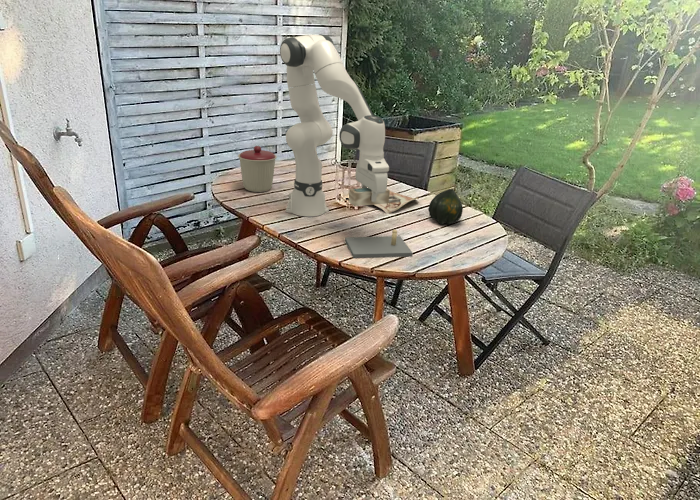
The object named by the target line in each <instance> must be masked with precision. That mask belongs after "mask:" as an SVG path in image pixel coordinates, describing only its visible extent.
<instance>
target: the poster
mask: <svg viewBox="0 0 700 500" xmlns="http://www.w3.org/2000/svg"><path fill="white" fill-rule="evenodd" d="M389 196H396V197H398V198H399V199H401V200H400V202H394V203H386V204H375V205H374V206H376V207H378V208H379V209H381V210H383V211H384V212H385V214H391V213H394V212H397V211H398V210H399V209H400V208H402V207H403V206H404V205H406V204H408V203H410V202H411V201H414V200H418V199H419V197H418V196H416V197H415V198H414V197H409V196H407V195H403V194H402V193H401V194H400V193H397V192H393V191H392V190H390V194H389ZM389 200H392V199H389Z"/></svg>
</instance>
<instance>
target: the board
mask: <svg viewBox="0 0 700 500" xmlns="http://www.w3.org/2000/svg"><path fill="white" fill-rule="evenodd" d="M344 242H345V245H346V246H347V248H348V250H349V253H350V254H351V257H352V258H353V259H365V258H366V259H367V258H368V259H371V258H373V259H375V258H403V257H404V258H407V257H413V253H414V252H413V251H412V249H410V247H409V246H408V245H407V243H406V242H405V241H404V239H403V238H402V236H401V235H398V230H397V229H392V233H391V236H347V237H344Z"/></svg>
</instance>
